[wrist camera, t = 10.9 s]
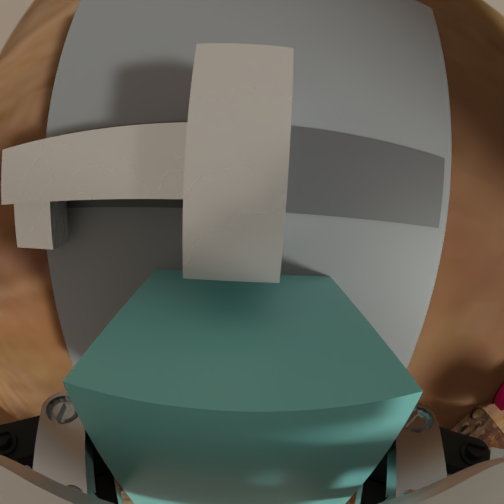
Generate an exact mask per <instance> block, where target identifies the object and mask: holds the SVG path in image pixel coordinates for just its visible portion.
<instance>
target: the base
mask: <svg viewBox="0 0 504 504" xmlns="http://www.w3.org/2000/svg"><path fill="white" fill-rule="evenodd" d="M203 43H238V44H258V45H270V46H280V47H289V48H294V55H293V89H292V114H291V135H290V153H289V170H288V185H287V199H286V213H285V226H284V238H283V250H282V261H281V272H280V275H298V276H330V277H331V278H332V279H333V280H334V281H335V283H336V284H337V285H338V286H339V287H340V288H341V290H342V291H343V292H344V293H345V294H346V295H347V297H348V298H349V299H350V300H351V301H352V302H353V304H354V305H355V306H356V307H357V308H358V310H359V311H360V312H361V313H362V314H363V316H364V317H365V318H366V319H367V320H368V322H369V323H370V324H371V325H372V327H373V328H374V329H375V330H376V331H377V333H378V334H379V335H380V336H381V338H382V339H383V340H384V341H385V343H386V344H387V345H388V346H389V348H390V349H391V350H392V351H393V353H394V354H395V355H396V356H397V358H398V359H399V360H400V362H401V363H402V364H403V365H404V367H405V368H406V369H407V367H408V365H409V362H410V359H411V357H412V354H413V352H414V349H415V346H416V344H417V341H418V338H419V335H420V332H421V329H422V326H423V323H424V320H425V317H426V313H427V310H428V306H429V303H430V299H431V296H432V292H433V288H434V284H435V280H436V276H437V271H438V267H439V262H440V257H441V252H442V246H443V240H444V234H445V228H446V221H447V213H448V204H449V193H450V179H451V114H450V101H449V91H448V82H447V75H446V68H445V62H444V56H443V51H442V46H441V41H440V37H439V33H438V29H437V25H436V21H435V17H434V14H433V10H432V8H430V7H428V6H427V5H425V4H423V3H420V2H418V1H416V0H80V3H79V5H78V7H77V10H76V12H75V15H74V17H73V20H72V23H71V26H70V28H69V31H68V34H67V37H66V40H65V44H64V47H63V50H62V54H61V57H60V61H59V65H58V69H57V73H56V77H55V82H54V86H53V91H52V97H51V102H50V109H49V115H48V122H47V131H46V138H50V137H55V136H60V135H65V134H70V133H76V132H82V131H88V130H95V129H102V128H110V127H119V126H129V125H140V124H155V123H177V122H188V110H189V100H190V91H191V82H192V74H193V66H194V58H195V51H196V45H197V44H203ZM67 226H68V240H69V243H67V244H65V245H62V246H60V247H58V248H56V249H53V250H52V249H47V256H48V263H49V270H50V277H51V283H52V288H53V293H54V298H55V303H56V308H57V312H58V317H59V321H60V325H61V328H62V332H63V336H64V339H65V343H66V346H67V350H68V353H69V356H70V359H71V362H72V365H73V367H74V366H75V365H76V364H77V362H78V361H79V360H80V358H81V357H82V356H83V355H84V353H85V352H86V351H87V349H88V348H89V347H90V346H91V344H92V343H93V342H94V341H95V339H96V338H97V337H98V336H99V335H100V333H101V332H102V331H103V330H104V328H105V327H106V326H107V325H108V324H109V322H110V321H111V320H112V319H113V318H114V316H115V315H116V314H117V313H118V312H119V311H120V309H121V308H122V307H123V306H124V305H125V304H126V302H127V301H128V300H129V299H130V298H131V297H132V295H133V294H134V293H135V292H136V291H137V290H138V289H139V288H140V286H141V285H142V284H143V283H144V282H145V281H146V280H147V279H148V277H149V276H150V275H151V274H152V273H153V272H154V271H155V270H156V269H171V270H183V199H98V200H69V201H67Z"/></svg>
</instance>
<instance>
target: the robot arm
mask: <svg viewBox="0 0 504 504" xmlns="http://www.w3.org/2000/svg"><path fill="white" fill-rule="evenodd" d="M0 504H123V502H122V497H121V491H120V485H119V483H118V481H117V480H116V478H115V477H114V476H113V474H112V473H111V471H110V470H109V468H108V467H107V465H106V464H105V462H104V460H103V459H102V457H101V456H100V454H99V452H98V451H97V449H96V447H95V446H94V444H93V442H92V441H91V439H90V437H89V435H88V433H87V432H86V430H85V428H84V426H83V424H82V422H81V420H80V418H79V416H78V414H77V412H76V410H75V408H74V406H73V404H72V401H71V399H70V397H69V395H68V393H67V392H63V393H57V394H54V395H52V396H50V397H49V398H47V400H46V401H45V402H44V403H43V406H42V408H41V413H40V416H36V417H32V418H29V419H25V420H21V421H16V422H12V423H8V424H3V425H0ZM355 504H504V449H499V448H494V447H491V448H490V449H489V448H488V446H487V445H486V443H485V442H483V441H482V440H481V439H478V438H476V437H472V436H468V435H465V434H461V433H458V432H454V431H451V430H448V429H444V428H441V427H439V424H438V419H437V417H436V414H435V413H434V412H433V410H432V409H430V408H429V407H427V406H425V405H423V404H420V403H417V404H416V406H415V408H414V409H413V411H412V413H411V415H410V416H409V418H408V420H407V422H406V423H405V425H404V427H403V428H402V430H401V431H400V433H399V435H398V436H397V438H396V439H395V441H394V442H393V444H392V445H391V447H390V448H389V450H388V451H387V453H386V454H385V455H384V457H383V458H382V460H381V461H380V462H379V464H378V465H377V466H376V468H375V469H374V470H373V472H372V473H371V474H370V475H369V477H368V478H367V479H366V480H365V482H364V483H363V484H362V485H361V486H360V488H359V489H358V490H357V494H356V500H355Z"/></svg>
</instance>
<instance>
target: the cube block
mask: <svg viewBox="0 0 504 504" xmlns="http://www.w3.org/2000/svg"><path fill="white" fill-rule="evenodd" d="M63 383H64V385H65V388H66V390H67V392H68V395H69V397H70V399H71V401H72V404H73V406H74V408H75V410H76V412H77V414H78V416H79V418H80V420H81V422H82V424H83V426H84V428H85V430H86V432H87V433H88V435H89V437H90V439H91V441H92V442H93V444H94V446H95V447H96V449H97V451H98V452H99V454H100V456H101V457H102V459H103V460H104V462H105V464H106V465H107V467H108V468H109V470H110V471H111V473H112V474H113V476H114V477H115V478H116V480H117V481H118V483H119V484H120V485H121V487H122V488H123V489H124V491H125V492H126V493H127V495H128V496H129V497H130V499H131V500H132V501H133V502H134V504H345V503H346V502H347V501H348V500H349V499H350V498H351V497H352V496H353V495H354V493H355V492H356V491H357V490H358V489H359V488H360V486H361V485H362V484H363V483H364V482H365V480H366V479H367V478H368V477H369V475H370V474H371V473H372V472H373V470H374V469H375V468H376V466H377V465H378V464H379V462H380V461H381V460H382V458H383V457H384V455H385V454H386V453H387V451H388V450H389V448H390V447H391V445H392V444H393V442H394V441H395V439H396V438H397V436H398V435H399V433H400V431H401V430H402V428H403V427H404V425H405V423H406V422H407V420H408V418H409V416H410V415H411V413H412V411H413V409H414V408H415V406H416V404H417V402H418V400H419V398H420V396H421V395H422V393H423V390H422V389H421V388H420V386H419V385H418V384H417V382H416V381H415V380H414V378H413V377H412V376H411V374H410V373H409V372H408V371H407V369H406V368H405V367H404V365H403V364H402V363H401V362H400V360H399V359H398V358H397V356H396V355H395V354H394V353H393V351H392V350H391V349H390V348H389V346H388V345H387V344H386V343H385V341H384V340H383V339H382V338H381V336H380V335H379V334H378V333H377V331H376V330H375V329H374V328H373V327H372V325H371V324H370V323H369V322H368V320H367V319H366V318H365V317H364V316H363V314H362V313H361V312H360V311H359V310H358V308H357V307H356V306H355V305H354V304H353V302H352V301H351V300H350V299H349V298H348V297H347V295H346V294H345V293H344V292H343V291H342V290H341V288H340V287H339V286H338V285H337V284H336V283H335V281H334V280H333V279H332V278H331V277H330V276H298V275H280V282H279V283H267V282H242V281H221V280H203V279H186V278H183V270H171V269H156V270H155V271H154V272H153V273H152V274H151V275H150V276H149V277H148V279H147V280H146V281H145V282H144V283H143V284H142V285H141V286H140V288H139V289H138V290H137V291H136V292H135V293H134V294H133V295H132V297H131V298H130V299H129V300H128V301H127V302H126V304H125V305H124V306H123V307H122V308H121V309H120V311H119V312H118V313H117V314H116V315H115V316H114V318H113V319H112V320H111V321H110V322H109V324H108V325H107V326H106V327H105V328H104V330H103V331H102V332H101V333H100V335H99V336H98V337H97V338H96V339H95V341H94V342H93V343H92V344H91V346H90V347H89V348H88V349H87V351H86V352H85V353H84V355H83V356H82V357H81V358H80V360H79V361H78V362H77V364H76V365H75V366H74V367H73V369H72V370H71V371H70V373H69V374H68V375H67V377H66V378H65V379H64V381H63Z"/></svg>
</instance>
